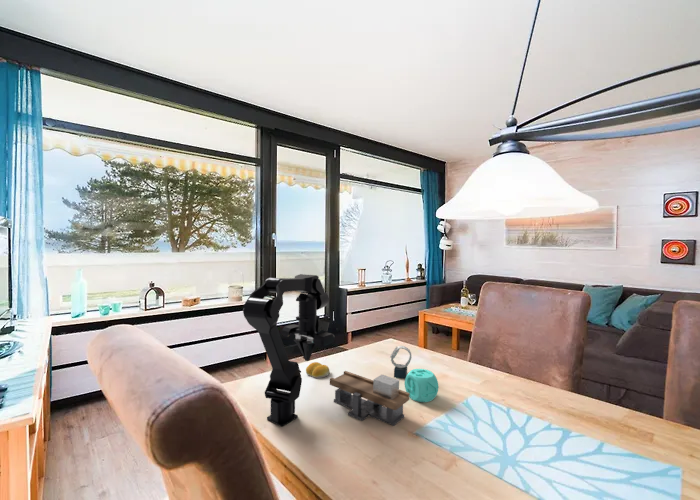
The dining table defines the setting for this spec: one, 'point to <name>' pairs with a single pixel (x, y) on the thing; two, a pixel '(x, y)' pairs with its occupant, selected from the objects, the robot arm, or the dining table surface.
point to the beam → (367, 390)
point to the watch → (399, 369)
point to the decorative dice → (421, 385)
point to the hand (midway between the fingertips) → (307, 360)
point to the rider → (386, 386)
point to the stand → (367, 408)
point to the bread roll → (317, 370)
